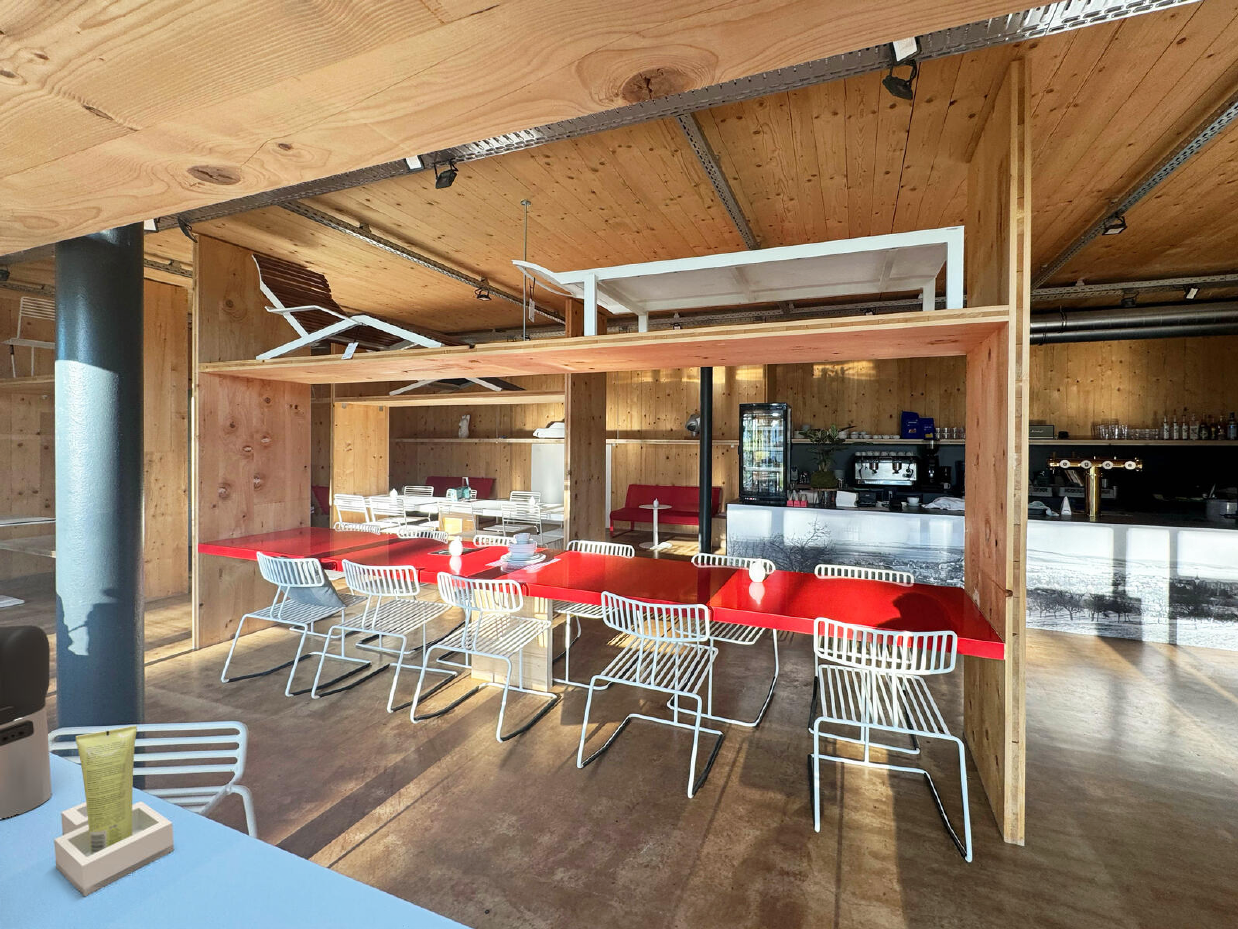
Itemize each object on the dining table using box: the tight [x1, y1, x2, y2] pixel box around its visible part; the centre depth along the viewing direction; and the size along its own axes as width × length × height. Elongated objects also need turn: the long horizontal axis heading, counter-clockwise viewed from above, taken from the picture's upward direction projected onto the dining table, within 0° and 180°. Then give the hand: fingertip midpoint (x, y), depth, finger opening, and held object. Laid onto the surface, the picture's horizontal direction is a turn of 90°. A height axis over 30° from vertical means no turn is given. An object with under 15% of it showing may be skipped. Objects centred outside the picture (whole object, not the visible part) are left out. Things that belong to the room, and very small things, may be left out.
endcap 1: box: [60, 801, 88, 836], centre depth 99 cm, size 7×7×4 cm
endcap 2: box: [53, 801, 175, 897], centre depth 92 cm, size 12×11×4 cm
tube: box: [75, 724, 138, 855], centre depth 92 cm, size 6×5×20 cm
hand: (23, 719), depth 86 cm, fingers open, 8 cm apart
